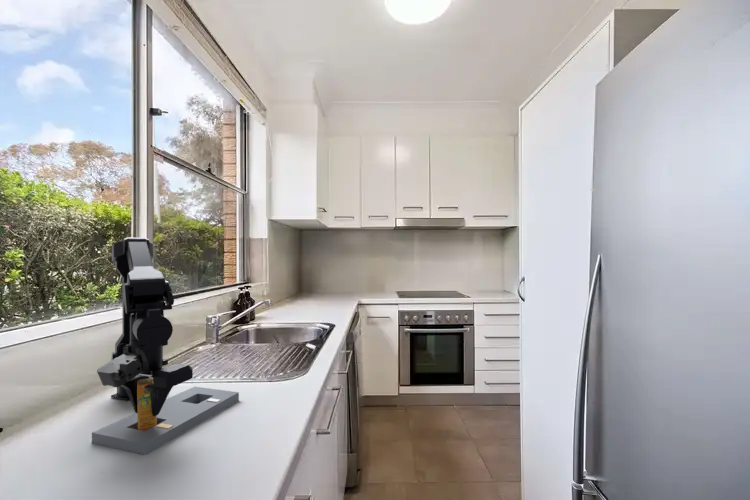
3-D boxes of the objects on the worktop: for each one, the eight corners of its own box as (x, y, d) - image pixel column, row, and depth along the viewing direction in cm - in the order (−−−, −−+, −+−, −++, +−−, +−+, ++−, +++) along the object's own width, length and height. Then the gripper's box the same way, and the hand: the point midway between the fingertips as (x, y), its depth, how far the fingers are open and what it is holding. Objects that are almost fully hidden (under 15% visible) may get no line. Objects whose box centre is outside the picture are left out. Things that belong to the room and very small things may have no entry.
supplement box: (137, 435, 70) (135, 384, 70) (138, 428, 73) (137, 379, 73) (156, 430, 71) (155, 380, 71) (157, 423, 74) (156, 376, 74)
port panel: (91, 443, 68) (91, 431, 68) (194, 394, 92) (194, 385, 92) (145, 454, 64) (145, 442, 64) (238, 400, 88) (238, 391, 88)
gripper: (71, 344, 67) (71, 425, 67) (143, 351, 62) (143, 441, 61) (128, 331, 78) (128, 402, 78) (194, 337, 72) (194, 413, 72)
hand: (147, 413), depth 72 cm, fingers closed on supplement box, 4 cm apart
